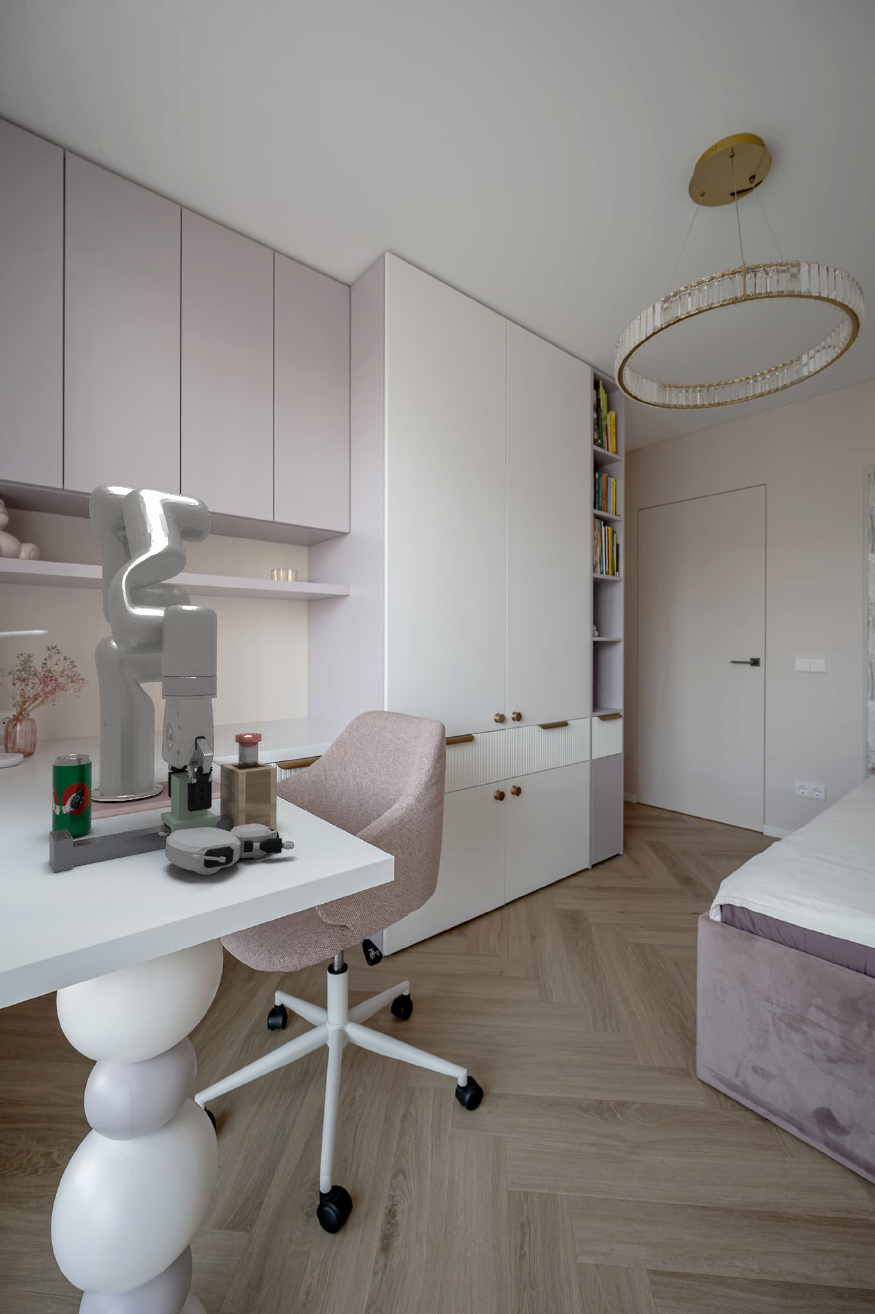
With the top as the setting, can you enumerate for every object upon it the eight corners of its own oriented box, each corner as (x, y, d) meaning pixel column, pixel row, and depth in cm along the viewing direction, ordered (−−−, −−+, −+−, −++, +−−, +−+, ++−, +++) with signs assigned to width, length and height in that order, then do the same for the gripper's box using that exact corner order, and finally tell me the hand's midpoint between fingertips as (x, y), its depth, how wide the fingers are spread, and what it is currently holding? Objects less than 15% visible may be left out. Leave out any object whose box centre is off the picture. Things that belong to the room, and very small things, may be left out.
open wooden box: (220, 826, 91) (220, 764, 91) (256, 819, 95) (256, 760, 95) (238, 838, 85) (239, 772, 85) (276, 830, 89) (276, 767, 89)
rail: (49, 861, 75) (49, 831, 75) (229, 827, 90) (229, 802, 90) (54, 872, 71) (54, 841, 71) (241, 834, 87) (241, 809, 87)
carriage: (160, 836, 85) (161, 773, 85) (201, 828, 89) (202, 768, 89) (174, 848, 79) (174, 781, 79) (217, 839, 83) (217, 775, 83)
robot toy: (256, 845, 85) (151, 862, 75) (259, 815, 85) (154, 827, 75) (299, 867, 76) (185, 890, 66) (301, 833, 77) (189, 850, 66)
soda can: (98, 830, 89) (99, 754, 89) (75, 840, 84) (75, 759, 84) (69, 829, 89) (69, 753, 89) (43, 839, 84) (44, 759, 84)
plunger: (231, 771, 90) (231, 734, 90) (255, 768, 93) (255, 732, 93) (240, 776, 87) (240, 737, 87) (265, 772, 90) (265, 735, 90)
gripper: (147, 686, 88) (147, 795, 88) (180, 692, 75) (179, 820, 75) (197, 685, 93) (196, 788, 93) (236, 690, 80) (235, 810, 80)
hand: (189, 802), depth 84 cm, fingers open, 9 cm apart
